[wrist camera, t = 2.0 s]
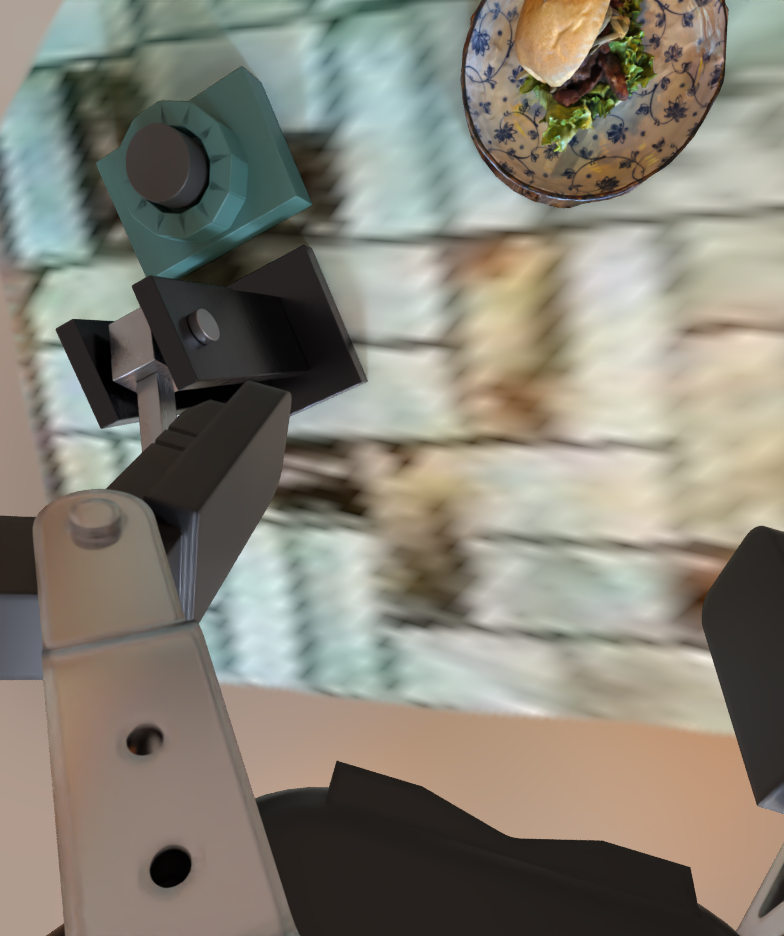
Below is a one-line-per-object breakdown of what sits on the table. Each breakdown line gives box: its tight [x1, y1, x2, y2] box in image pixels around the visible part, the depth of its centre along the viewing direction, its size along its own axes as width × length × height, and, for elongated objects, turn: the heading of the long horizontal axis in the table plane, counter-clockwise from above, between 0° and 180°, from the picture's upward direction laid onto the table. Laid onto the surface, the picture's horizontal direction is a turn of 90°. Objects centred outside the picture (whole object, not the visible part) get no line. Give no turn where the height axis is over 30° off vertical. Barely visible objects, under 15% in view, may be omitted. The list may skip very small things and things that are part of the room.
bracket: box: [56, 245, 368, 429], centre depth 31 cm, size 8×10×13 cm
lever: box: [109, 307, 178, 452], centre depth 25 cm, size 12×3×3 cm, turn 23°
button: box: [126, 123, 208, 209], centre depth 32 cm, size 4×4×2 cm
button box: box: [96, 66, 312, 280], centre depth 35 cm, size 10×7×4 cm
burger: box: [461, 0, 728, 208], centre depth 27 cm, size 12×12×8 cm
